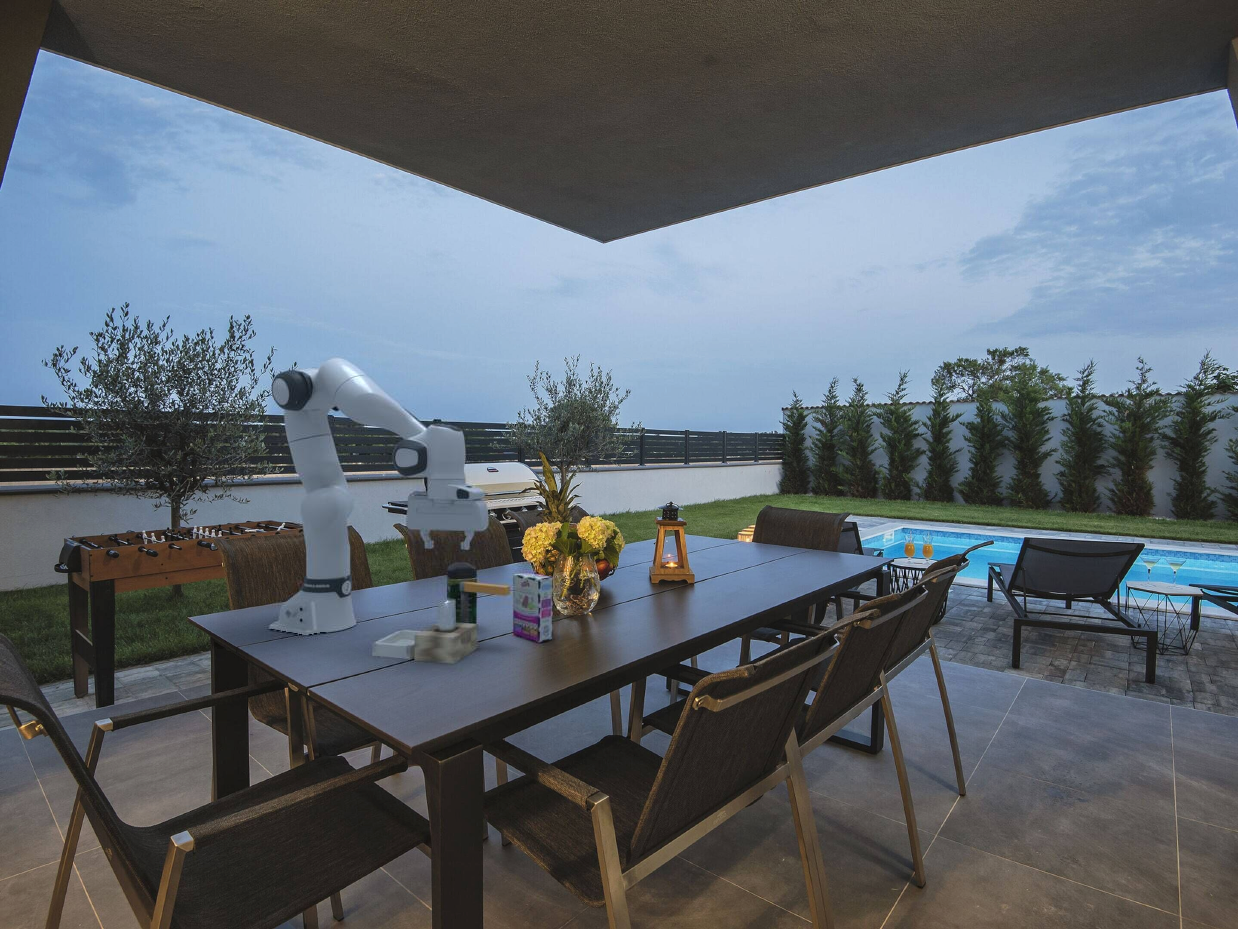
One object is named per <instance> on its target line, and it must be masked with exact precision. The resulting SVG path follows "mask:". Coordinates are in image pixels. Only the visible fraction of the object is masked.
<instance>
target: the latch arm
mask: <svg viewBox="0 0 1238 929" xmlns="http://www.w3.org/2000/svg"><path fill="white" fill-rule="evenodd" d="M460 591H466V592H476V593H477V594H487V595H493V596H495V595H497V596H505V597H506V596H508V595H511V585H505V584H504V585H503V584H494V583H482V582H477V583H475V582H460Z"/></svg>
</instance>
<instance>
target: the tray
mask: <svg viewBox="0 0 1238 929" xmlns="http://www.w3.org/2000/svg"><path fill="white" fill-rule="evenodd" d="M421 631H422V630H412V629H411V630H410V629H400V630H398V631H396V632H393V633H391V634H389V635H387V636H385V637H382V638H381V639H379V640H376V641H374V642H373V643H371V646H372V647H371V649H372V650H371V653H372V654H371V655H372V657H378V656H379V657H380V658H392V659H402V660H411V659H413V658H415V634H417V633H419V632H421ZM379 657H378V658H379Z"/></svg>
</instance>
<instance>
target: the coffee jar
mask: <svg viewBox="0 0 1238 929" xmlns="http://www.w3.org/2000/svg"><path fill="white" fill-rule="evenodd" d="M460 582H475V583H478V572H477V567H476V566H475V565H473V564H471V563H469V562H468V561H461V562H457V561H456V562H453V563H452V564H450V565H448V566H447V568H446V598H452V599H455V600H456V623H461V591H460ZM477 600H478V593H476V592H468V623H470V624H477V623H478V622H477V614H478V613H477V609H478V608H477V607H478V606H477V604H478V601H477ZM477 625H478V624H477Z"/></svg>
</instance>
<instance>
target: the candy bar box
mask: <svg viewBox="0 0 1238 929" xmlns="http://www.w3.org/2000/svg"><path fill="white" fill-rule="evenodd" d="M512 578H513V579H512V580H513V595H512V596H513V598H512V599H513V603H512V609H513V614H512V615H513V616H512V619H513V621H512V626H513V628H512V634H513V636H516V637H518V638H521V639H526V640H527V641H528V640H529V641H531V642H534V641H535V643H538V644H539V643H540V642H541V643H544V642H543V641H545V642H548V641H547V640H549V641H551V639H552V640H553V639H554V637H553V636H554V635H553V634H554V632H553V631H554V630H553V626H554V624H553V621H554V617H553V614H554V612H553V611H554V608H553V607H554V599H553V598H554V591H553V590H554V585H553V584H554V577H553V576H548V575H543V574H538V573H537V574H536V573H532V572H519V573H515V574H513V577H512Z"/></svg>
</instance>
